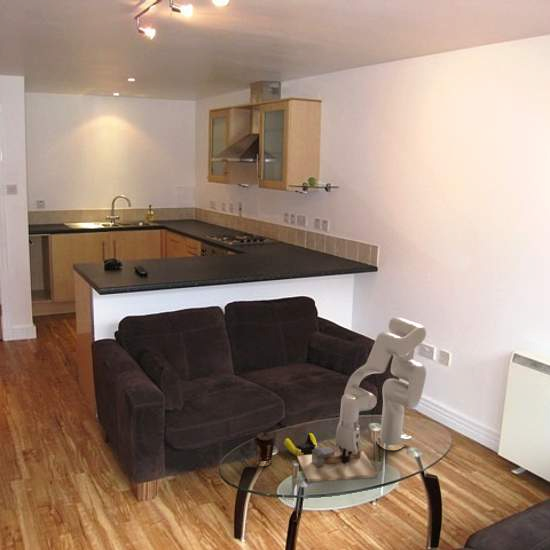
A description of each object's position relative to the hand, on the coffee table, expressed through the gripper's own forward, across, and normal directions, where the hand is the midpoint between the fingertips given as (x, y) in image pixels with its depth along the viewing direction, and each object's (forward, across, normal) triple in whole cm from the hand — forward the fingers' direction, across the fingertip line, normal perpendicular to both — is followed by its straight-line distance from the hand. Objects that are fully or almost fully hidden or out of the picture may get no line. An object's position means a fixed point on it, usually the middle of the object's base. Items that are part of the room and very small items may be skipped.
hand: (345, 462), depth 258 cm
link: (+1, +3, -2) cm, 4 cm away
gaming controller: (+3, +21, +4) cm, 21 cm away
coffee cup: (+3, +25, +23) cm, 35 cm away
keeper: (+1, +7, +7) cm, 10 cm away
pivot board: (+2, +2, +3) cm, 4 cm away
